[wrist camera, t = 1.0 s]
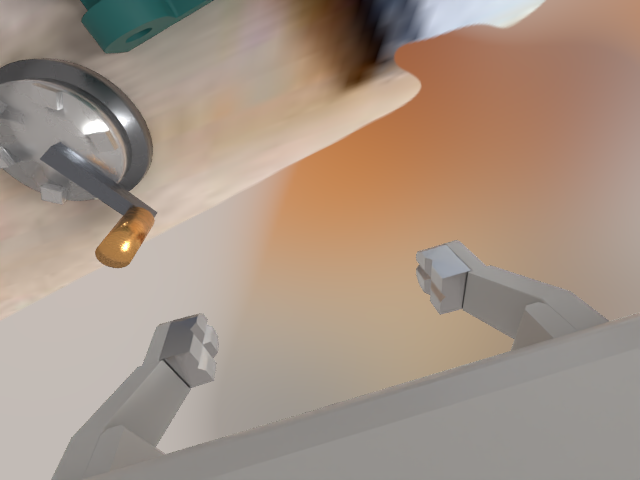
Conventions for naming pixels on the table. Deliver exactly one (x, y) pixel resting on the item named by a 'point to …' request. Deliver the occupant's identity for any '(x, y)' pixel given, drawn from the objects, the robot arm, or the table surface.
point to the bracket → (133, 20)
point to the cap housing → (101, 91)
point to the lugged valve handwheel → (72, 156)
